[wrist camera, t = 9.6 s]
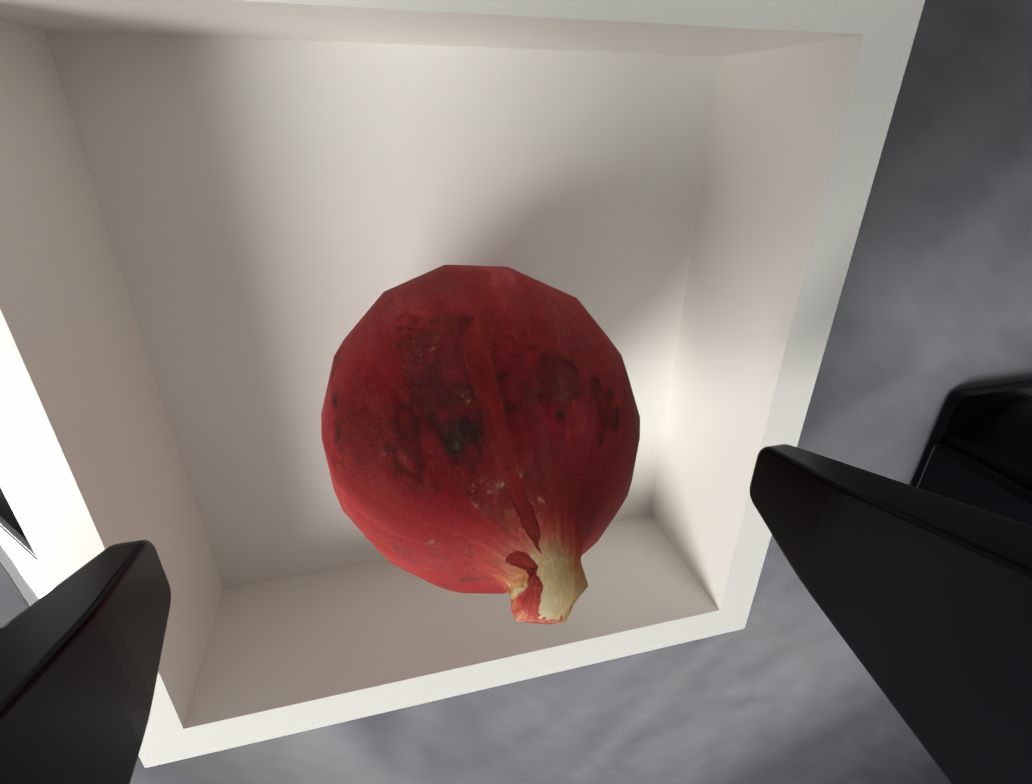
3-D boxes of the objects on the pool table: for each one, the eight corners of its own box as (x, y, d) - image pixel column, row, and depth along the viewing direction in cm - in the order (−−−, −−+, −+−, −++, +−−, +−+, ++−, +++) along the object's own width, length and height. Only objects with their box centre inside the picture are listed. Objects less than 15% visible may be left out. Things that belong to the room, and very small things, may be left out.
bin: (742, 12, 13) (936, -40, 8) (659, 515, 20) (744, 628, 15) (-17, -34, 9) (-334, -159, 5) (201, 594, 16) (145, 767, 12)
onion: (275, 295, 12) (185, 559, 5) (512, 184, 12) (723, 296, 5) (399, 478, 15) (445, 794, 8) (585, 386, 15) (778, 618, 8)
